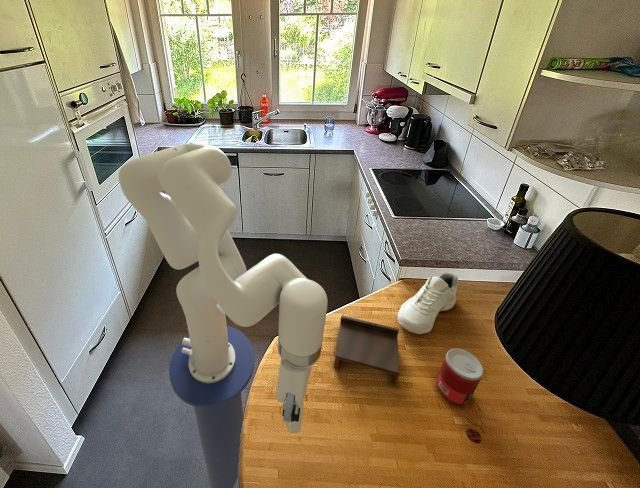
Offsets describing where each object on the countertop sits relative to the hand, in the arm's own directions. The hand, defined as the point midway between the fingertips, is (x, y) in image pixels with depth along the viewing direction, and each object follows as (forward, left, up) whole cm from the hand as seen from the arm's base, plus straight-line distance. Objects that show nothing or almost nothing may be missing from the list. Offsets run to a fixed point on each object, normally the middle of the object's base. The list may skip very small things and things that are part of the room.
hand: (294, 400), depth 64 cm
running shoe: (+32, +48, -17) cm, 60 cm away
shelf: (+15, +27, -17) cm, 35 cm away
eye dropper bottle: (0, 0, -7) cm, 7 cm away
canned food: (+37, +24, -17) cm, 47 cm away
